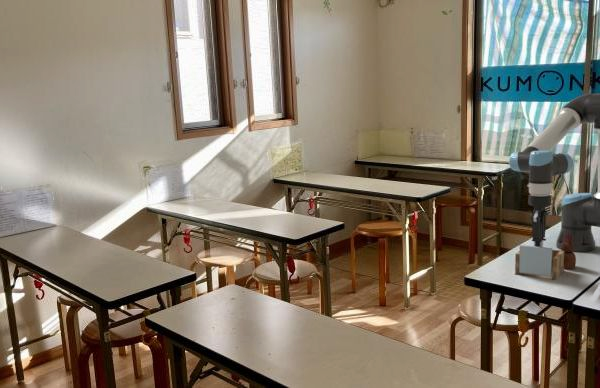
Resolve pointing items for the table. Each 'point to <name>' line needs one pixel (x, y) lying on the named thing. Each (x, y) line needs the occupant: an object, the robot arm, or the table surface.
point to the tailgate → (535, 260)
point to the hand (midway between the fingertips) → (538, 258)
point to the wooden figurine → (568, 252)
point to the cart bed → (556, 265)
